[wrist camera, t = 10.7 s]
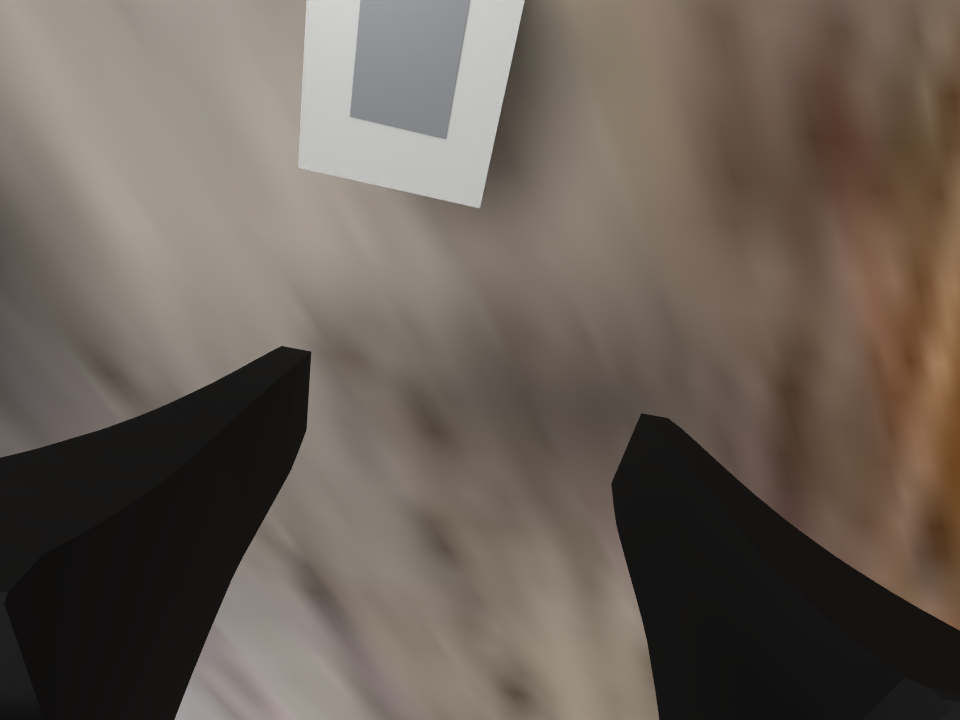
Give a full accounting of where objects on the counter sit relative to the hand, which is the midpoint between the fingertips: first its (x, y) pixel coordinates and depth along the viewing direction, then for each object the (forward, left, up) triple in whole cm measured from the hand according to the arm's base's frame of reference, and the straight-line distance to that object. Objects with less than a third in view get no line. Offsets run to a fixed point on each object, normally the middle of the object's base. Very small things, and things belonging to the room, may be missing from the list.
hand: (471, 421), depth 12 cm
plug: (-3, +7, -10) cm, 13 cm away
